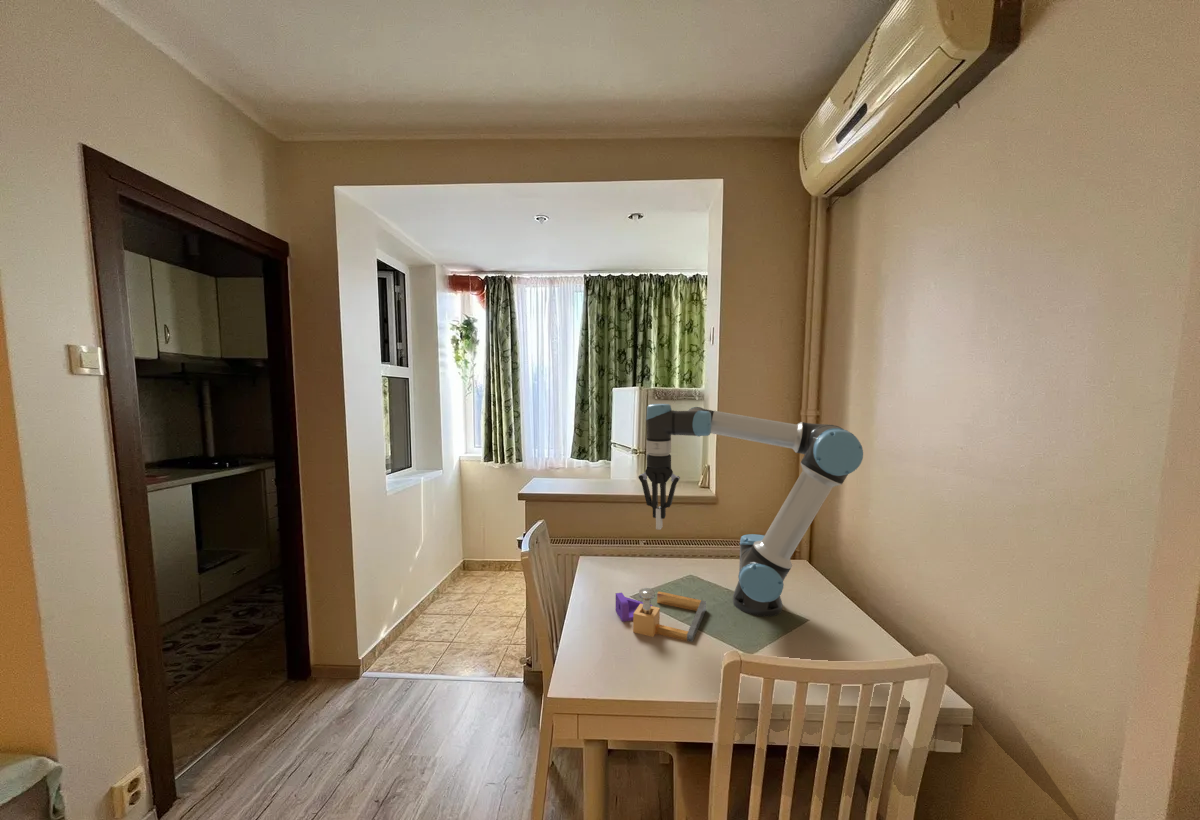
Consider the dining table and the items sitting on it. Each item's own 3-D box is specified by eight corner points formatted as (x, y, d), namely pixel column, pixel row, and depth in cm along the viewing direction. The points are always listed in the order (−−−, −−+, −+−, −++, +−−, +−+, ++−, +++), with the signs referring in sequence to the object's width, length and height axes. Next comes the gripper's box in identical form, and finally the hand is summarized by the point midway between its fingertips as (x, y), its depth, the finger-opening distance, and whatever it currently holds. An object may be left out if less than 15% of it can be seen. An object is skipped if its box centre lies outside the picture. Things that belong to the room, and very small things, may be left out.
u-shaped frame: (705, 611, 138) (706, 601, 138) (692, 647, 120) (692, 635, 120) (658, 601, 145) (658, 591, 144) (638, 634, 126) (638, 622, 126)
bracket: (622, 626, 131) (622, 604, 130) (615, 614, 138) (615, 593, 137) (659, 620, 134) (659, 599, 133) (651, 609, 141) (651, 588, 140)
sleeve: (659, 630, 128) (659, 607, 127) (653, 642, 123) (653, 618, 122) (639, 625, 130) (640, 603, 130) (633, 636, 125) (633, 613, 124)
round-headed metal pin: (656, 620, 127) (656, 589, 127) (651, 628, 123) (652, 596, 123) (641, 616, 129) (642, 586, 128) (636, 624, 125) (637, 593, 124)
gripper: (635, 454, 134) (635, 529, 136) (677, 456, 129) (677, 534, 131) (641, 450, 141) (642, 522, 143) (682, 452, 136) (682, 526, 138)
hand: (659, 528), depth 137 cm, fingers closed
